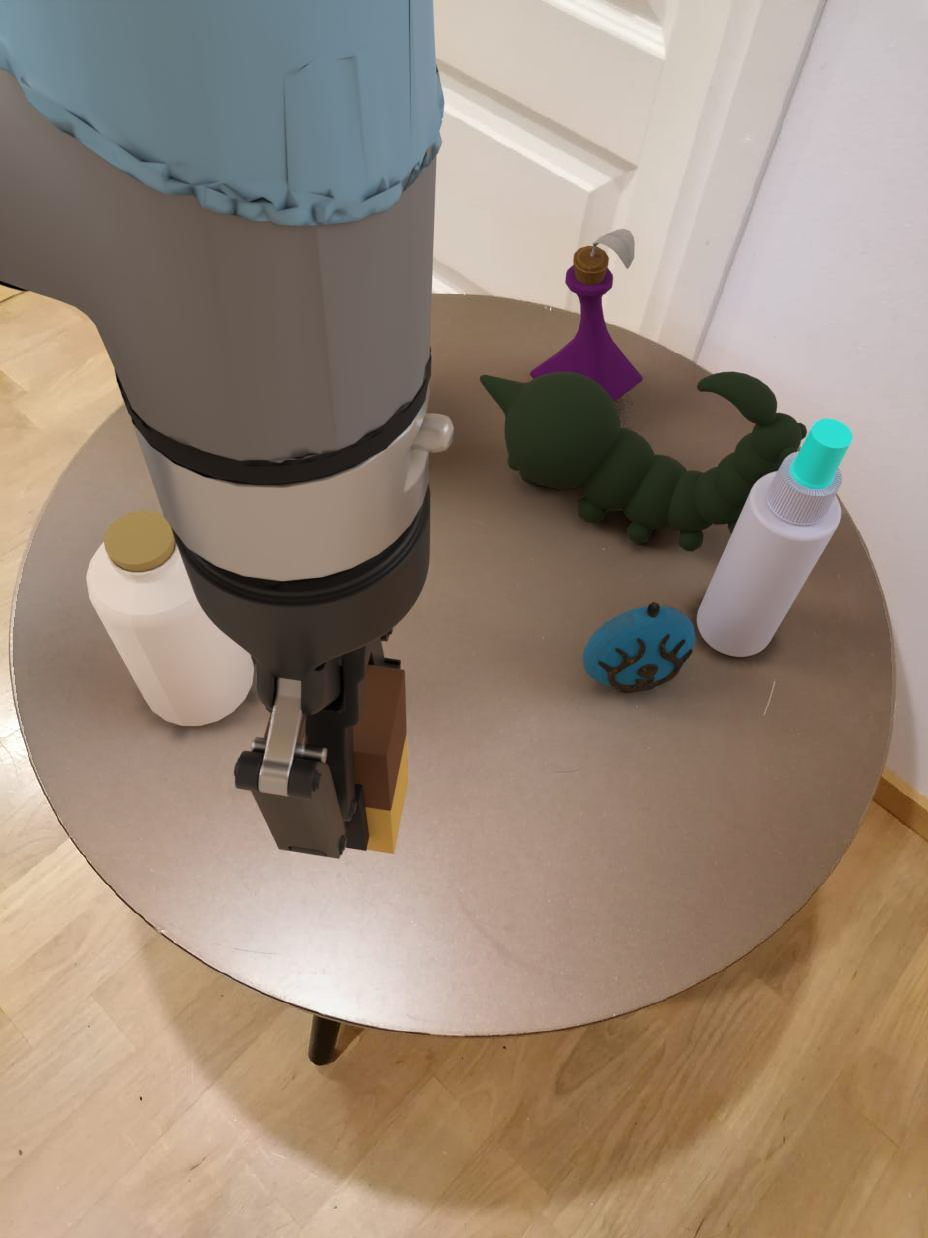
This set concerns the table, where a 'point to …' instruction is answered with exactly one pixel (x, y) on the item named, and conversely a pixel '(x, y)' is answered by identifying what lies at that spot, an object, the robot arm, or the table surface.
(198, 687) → the white plastic cylinder
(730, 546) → the spray bottle
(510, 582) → the table surface
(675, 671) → the ornament
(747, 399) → the toy figurine
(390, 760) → the sponge
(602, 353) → the perfume bottle
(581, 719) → the table surface
